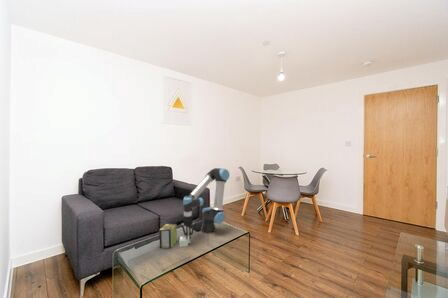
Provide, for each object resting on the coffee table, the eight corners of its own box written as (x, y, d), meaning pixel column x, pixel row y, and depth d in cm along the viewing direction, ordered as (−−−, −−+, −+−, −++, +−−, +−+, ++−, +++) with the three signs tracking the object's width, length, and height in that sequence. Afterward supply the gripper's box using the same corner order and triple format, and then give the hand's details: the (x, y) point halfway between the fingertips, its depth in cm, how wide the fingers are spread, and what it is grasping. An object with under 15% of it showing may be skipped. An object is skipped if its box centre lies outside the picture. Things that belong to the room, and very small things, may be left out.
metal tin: (178, 239, 192) (178, 235, 192) (185, 239, 193) (185, 234, 193) (177, 242, 186) (177, 238, 186) (184, 242, 187) (184, 237, 187)
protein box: (177, 240, 190) (176, 223, 191) (171, 248, 175) (170, 229, 175) (166, 240, 191) (165, 223, 192) (159, 248, 176) (158, 229, 176)
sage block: (180, 243, 184) (180, 237, 184) (188, 242, 185) (187, 237, 185) (179, 246, 177) (179, 241, 177) (187, 246, 178) (187, 240, 178)
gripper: (180, 217, 177) (180, 245, 177) (195, 216, 179) (196, 243, 179) (180, 214, 185) (181, 241, 184) (195, 213, 187) (196, 240, 186)
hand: (188, 242), depth 181 cm, fingers closed
